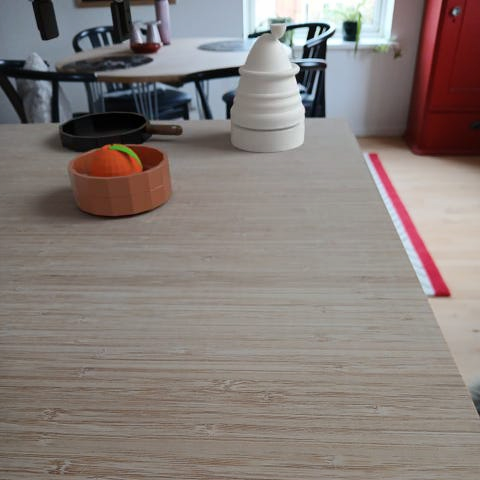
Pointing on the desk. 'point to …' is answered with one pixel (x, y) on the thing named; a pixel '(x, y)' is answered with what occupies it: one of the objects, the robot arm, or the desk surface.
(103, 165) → the clementine
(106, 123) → the pan
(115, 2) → the robot arm
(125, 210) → the bowl
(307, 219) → the desk surface
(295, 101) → the honey pot
